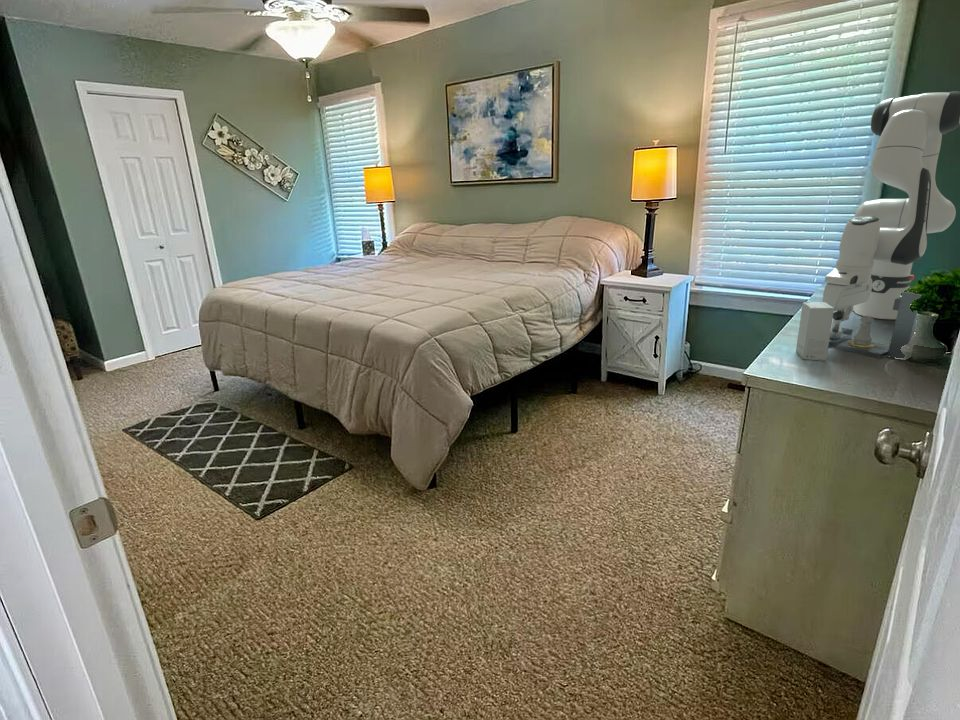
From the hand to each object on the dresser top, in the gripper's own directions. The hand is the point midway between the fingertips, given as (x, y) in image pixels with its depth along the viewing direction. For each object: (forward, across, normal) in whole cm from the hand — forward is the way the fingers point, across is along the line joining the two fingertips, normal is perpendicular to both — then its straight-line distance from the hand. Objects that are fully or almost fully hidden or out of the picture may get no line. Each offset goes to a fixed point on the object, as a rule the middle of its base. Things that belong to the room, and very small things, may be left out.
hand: (842, 320), depth 153 cm
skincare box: (+7, +20, +2) cm, 21 cm away
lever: (+4, +3, 0) cm, 5 cm away
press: (+6, +3, +8) cm, 11 cm away
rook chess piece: (+5, +3, +7) cm, 9 cm away
